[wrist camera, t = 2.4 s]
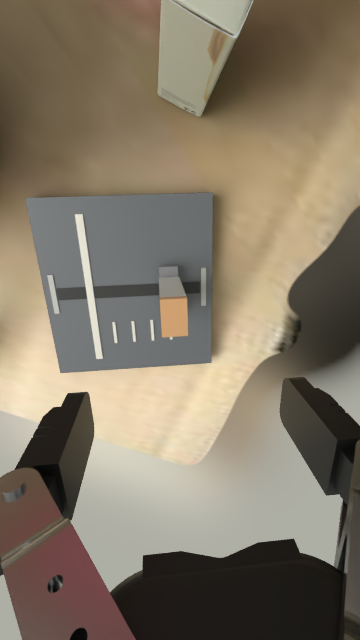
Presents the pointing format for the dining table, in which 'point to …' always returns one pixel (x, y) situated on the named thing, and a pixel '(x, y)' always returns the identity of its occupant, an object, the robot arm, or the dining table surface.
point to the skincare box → (196, 47)
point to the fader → (172, 303)
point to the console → (123, 277)
